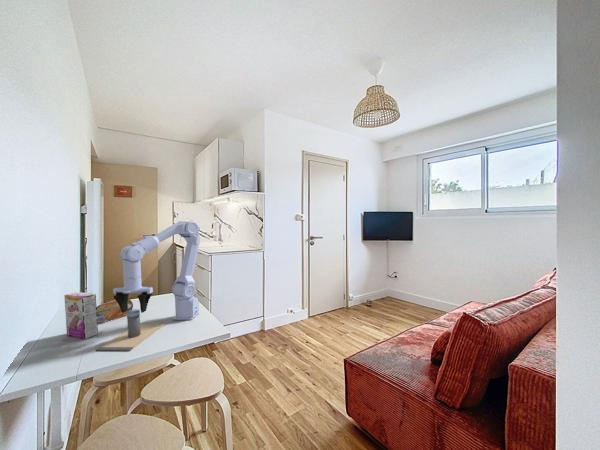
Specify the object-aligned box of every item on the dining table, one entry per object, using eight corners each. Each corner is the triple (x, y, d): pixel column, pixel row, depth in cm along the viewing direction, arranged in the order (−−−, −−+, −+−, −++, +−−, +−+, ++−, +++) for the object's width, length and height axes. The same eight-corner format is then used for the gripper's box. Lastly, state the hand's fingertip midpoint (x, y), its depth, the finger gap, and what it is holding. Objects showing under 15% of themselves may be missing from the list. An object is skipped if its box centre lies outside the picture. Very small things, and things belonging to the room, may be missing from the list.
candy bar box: (65, 336, 98) (63, 294, 98) (80, 330, 103) (78, 291, 102) (84, 340, 95) (82, 297, 94) (98, 334, 99) (96, 293, 99)
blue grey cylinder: (143, 332, 99) (142, 309, 98) (135, 337, 95) (134, 313, 94) (132, 332, 99) (131, 309, 99) (125, 338, 95) (124, 313, 94)
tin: (95, 325, 108) (94, 306, 107) (92, 324, 109) (91, 305, 109) (133, 313, 120) (132, 296, 120) (130, 312, 122) (129, 295, 122)
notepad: (165, 324, 107) (165, 323, 107) (129, 350, 86) (129, 349, 86) (138, 324, 108) (138, 323, 108) (96, 350, 87) (96, 349, 87)
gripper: (106, 279, 93) (107, 315, 94) (143, 279, 93) (145, 315, 93) (120, 275, 100) (121, 308, 101) (155, 274, 100) (157, 308, 100)
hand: (134, 311), depth 97 cm, fingers open, 7 cm apart
